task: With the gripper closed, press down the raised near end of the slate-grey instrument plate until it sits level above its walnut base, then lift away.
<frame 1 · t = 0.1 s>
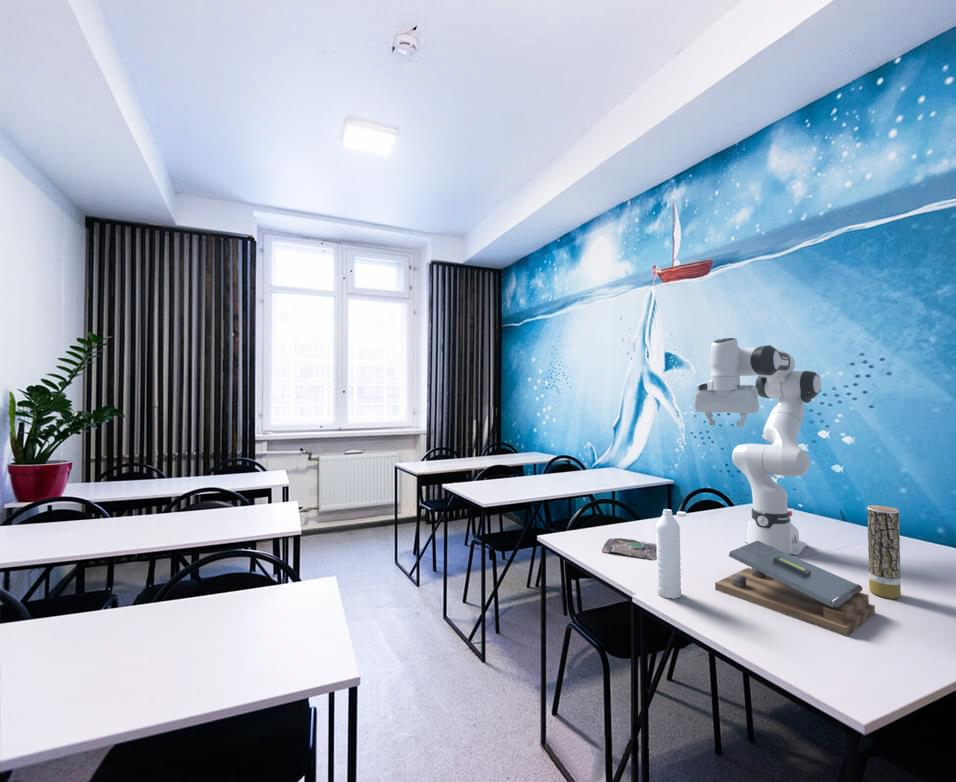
hand: (725, 425, 153), 48 cm above the table, tool pointing down, fingers open, 8 cm apart
terrain model: (631, 552, 169), on the table
instrument plate: (792, 569, 127), point 9 cm above the table, hinge at 12.0°
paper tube: (884, 595, 130), on the table
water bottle: (672, 596, 131), on the table
leveling base: (790, 600, 127), on the table
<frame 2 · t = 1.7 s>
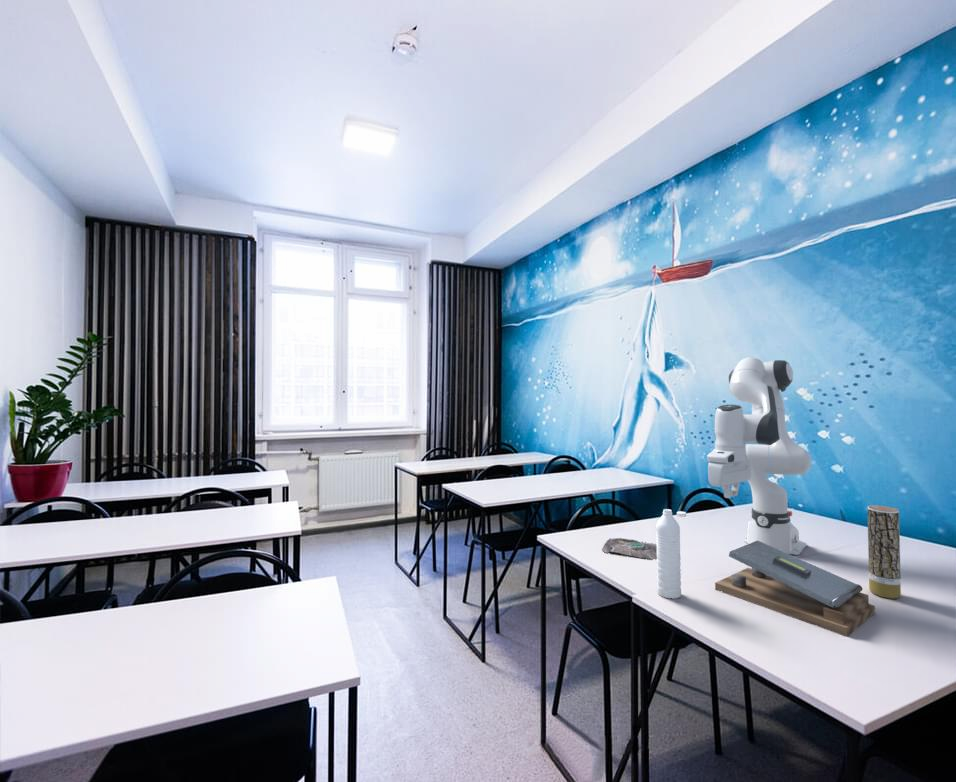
hand: (731, 496, 146), 25 cm above the table, tool pointing down, fingers closed
nothing on the table moved.
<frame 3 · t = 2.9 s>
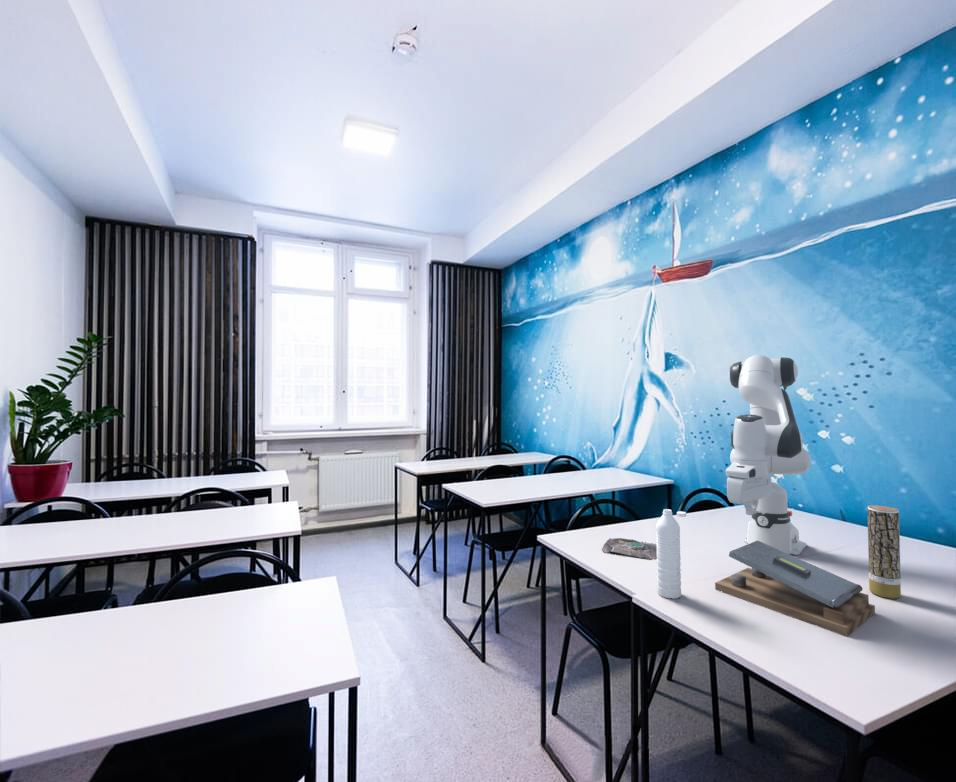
hand: (751, 514, 136), 22 cm above the table, tool pointing down, fingers closed
nothing on the table moved.
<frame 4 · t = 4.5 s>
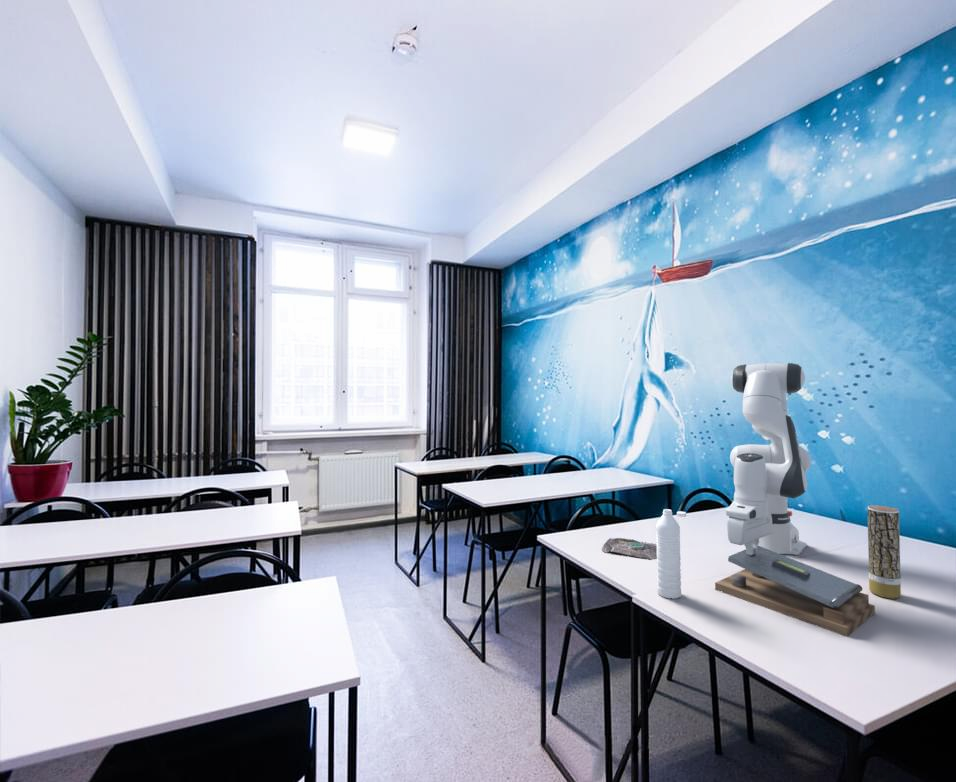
hand: (751, 553, 135), 10 cm above the table, tool pointing down, fingers closed, pressing on instrument plate
instrument plate: (792, 571, 127), point 8 cm above the table, hinge at 8.6°, touching gripper
everything else where it was.
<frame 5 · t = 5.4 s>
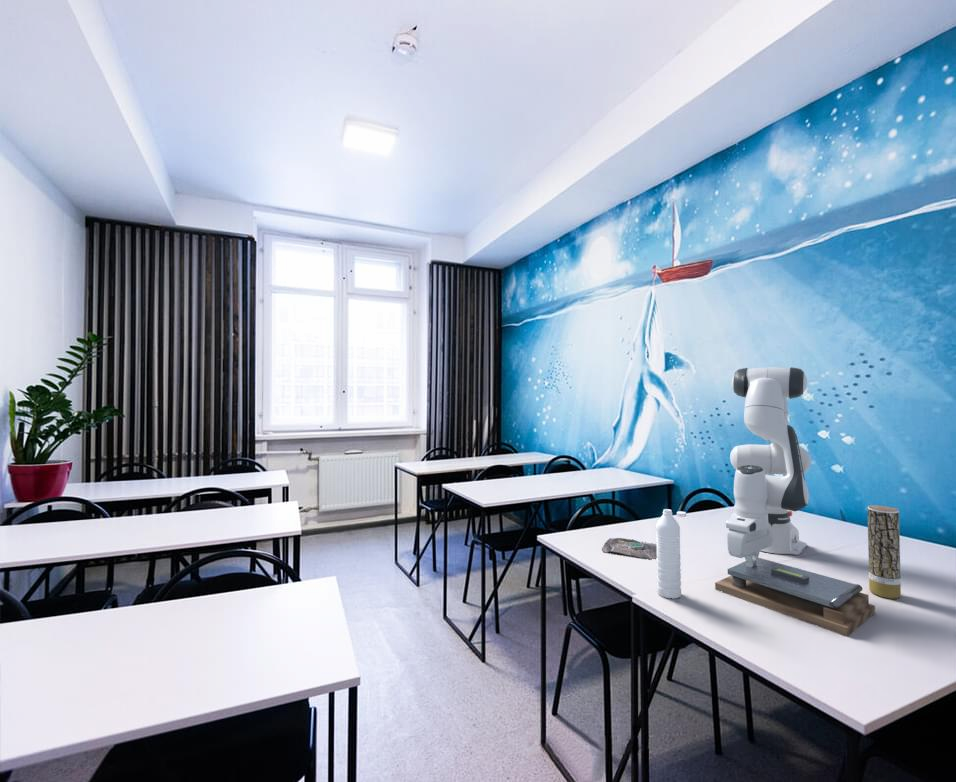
hand: (751, 566, 135), 7 cm above the table, tool pointing down, fingers closed, pressing on instrument plate
instrument plate: (791, 578, 127), point 6 cm above the table, hinge at -0.1°, touching gripper
everything else where it was.
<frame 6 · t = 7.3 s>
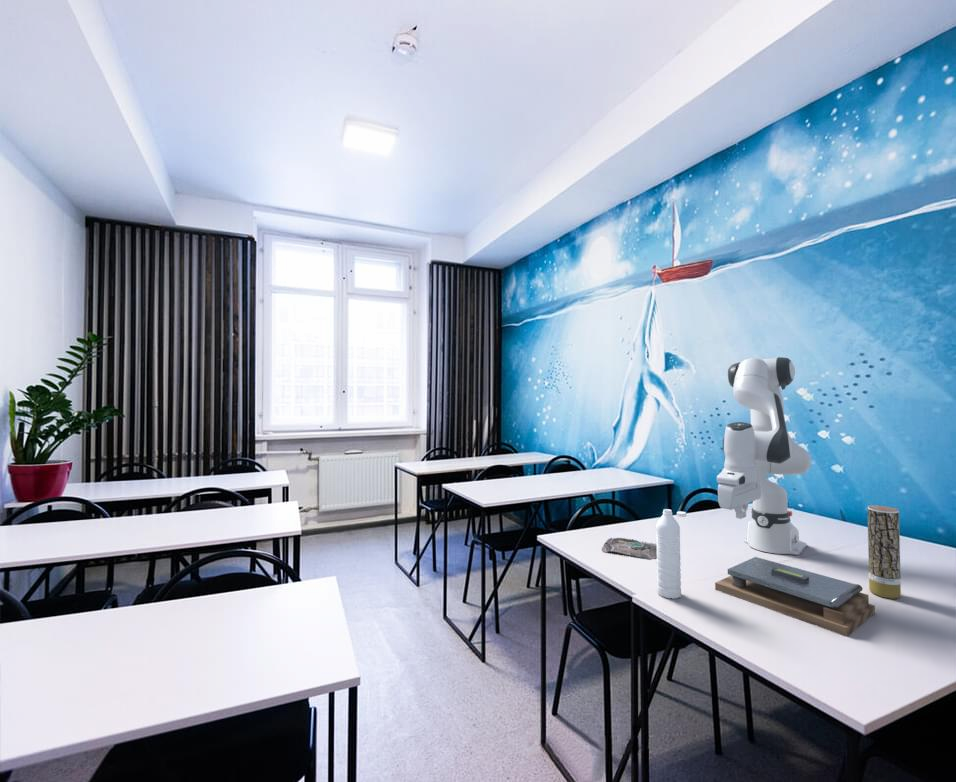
hand: (741, 517, 142), 20 cm above the table, tool pointing down, fingers closed
instrument plate: (791, 578, 127), point 6 cm above the table, hinge at -0.1°
everything else where it was.
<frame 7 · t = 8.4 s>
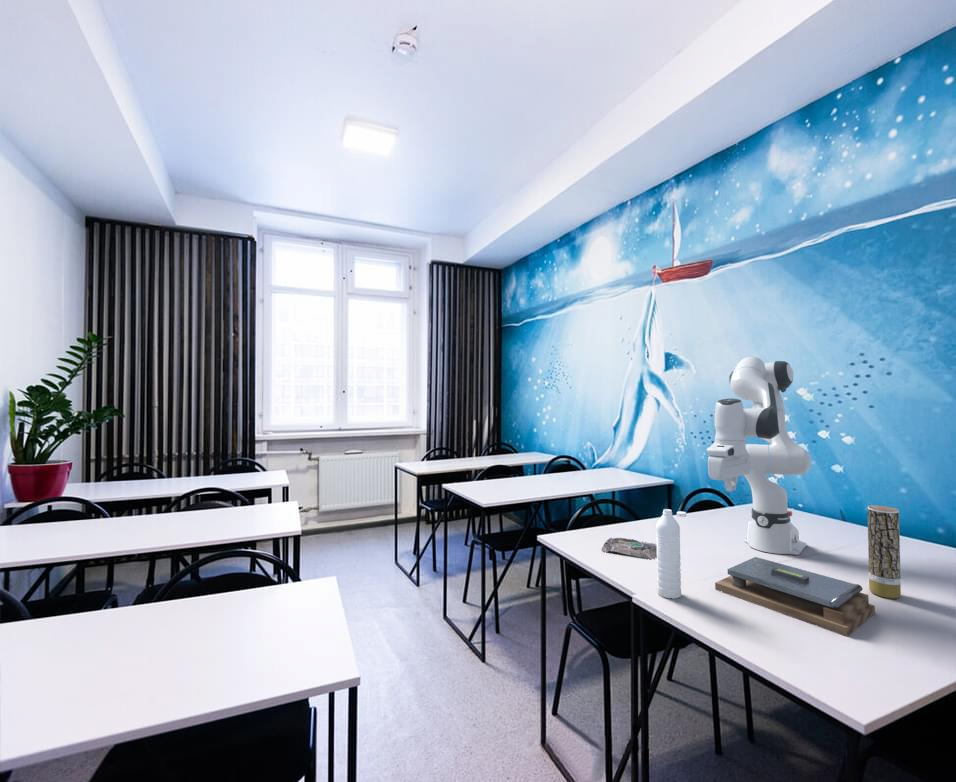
hand: (730, 490, 146), 27 cm above the table, tool pointing down, fingers closed
nothing on the table moved.
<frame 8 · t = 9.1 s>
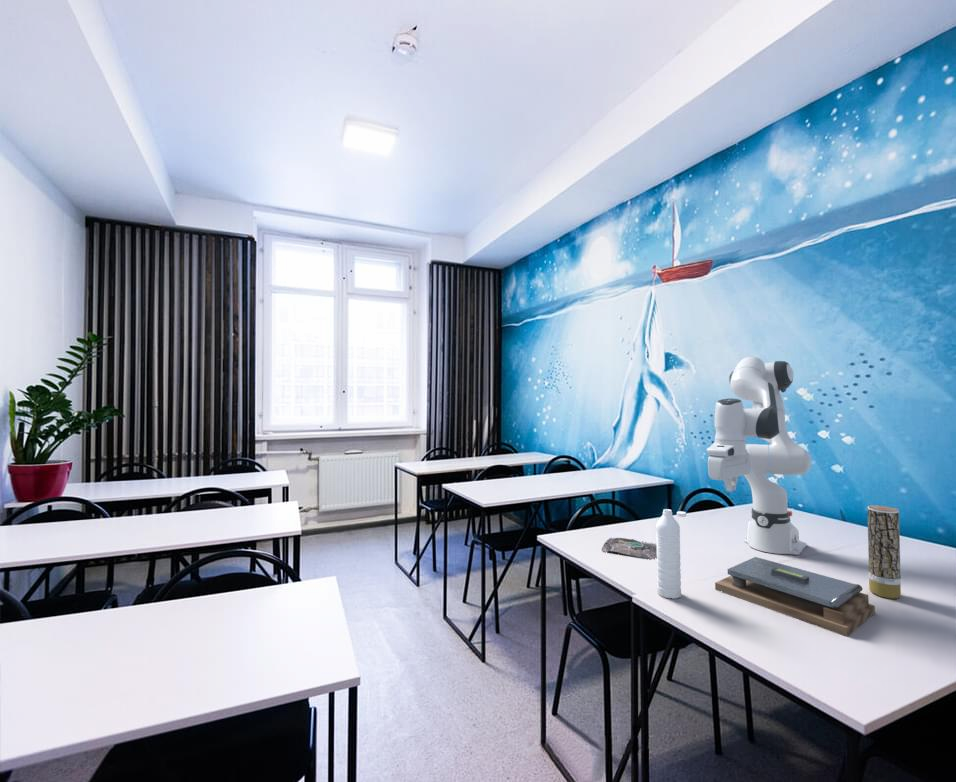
hand: (730, 490, 146), 27 cm above the table, tool pointing down, fingers closed
nothing on the table moved.
at the end: instrument plate at +0° (first picture: +12°); the gripper is holding nothing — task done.
